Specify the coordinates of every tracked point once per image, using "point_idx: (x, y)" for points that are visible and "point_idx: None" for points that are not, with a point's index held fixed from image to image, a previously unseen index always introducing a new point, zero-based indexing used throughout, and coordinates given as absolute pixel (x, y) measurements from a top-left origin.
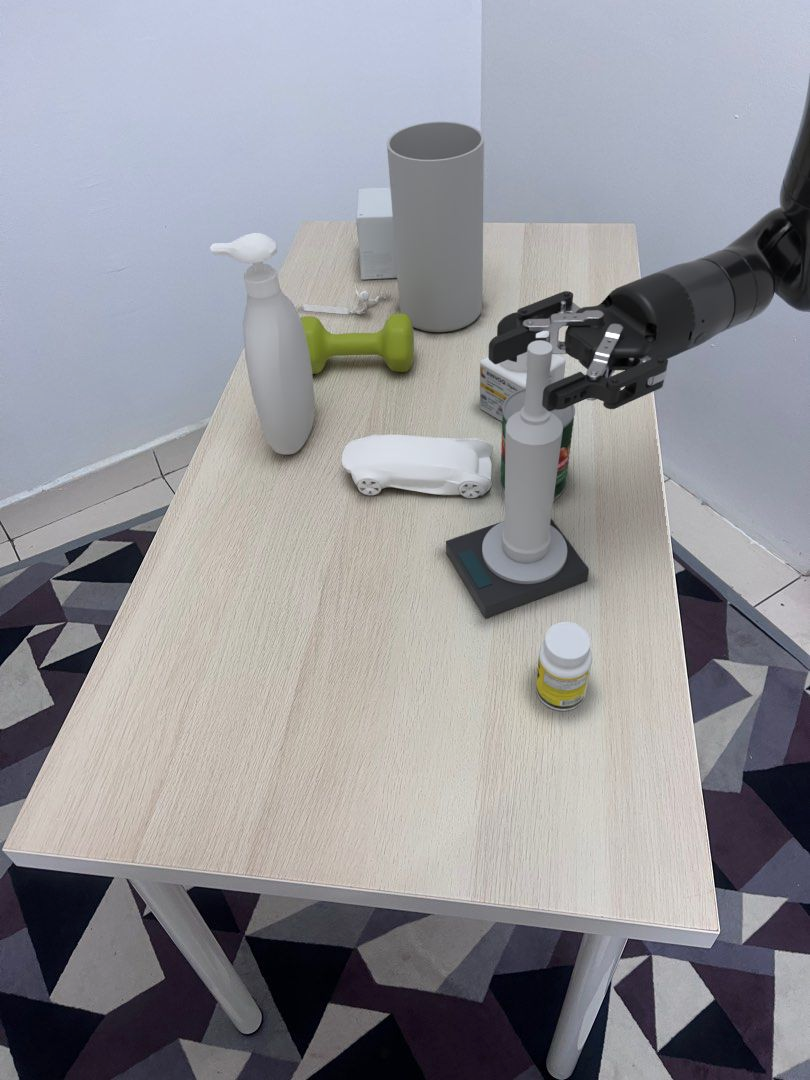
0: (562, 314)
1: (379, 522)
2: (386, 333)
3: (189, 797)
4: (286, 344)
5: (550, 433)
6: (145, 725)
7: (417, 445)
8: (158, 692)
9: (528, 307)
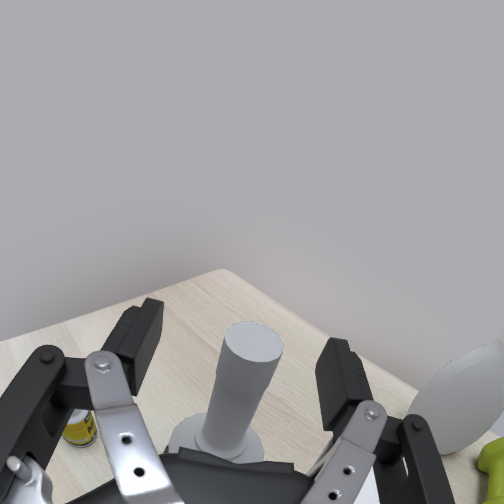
0: (363, 473)
1: (313, 455)
2: (500, 497)
3: (196, 297)
4: (472, 374)
5: (178, 441)
6: (242, 304)
7: (371, 494)
8: (256, 313)
9: (428, 440)
